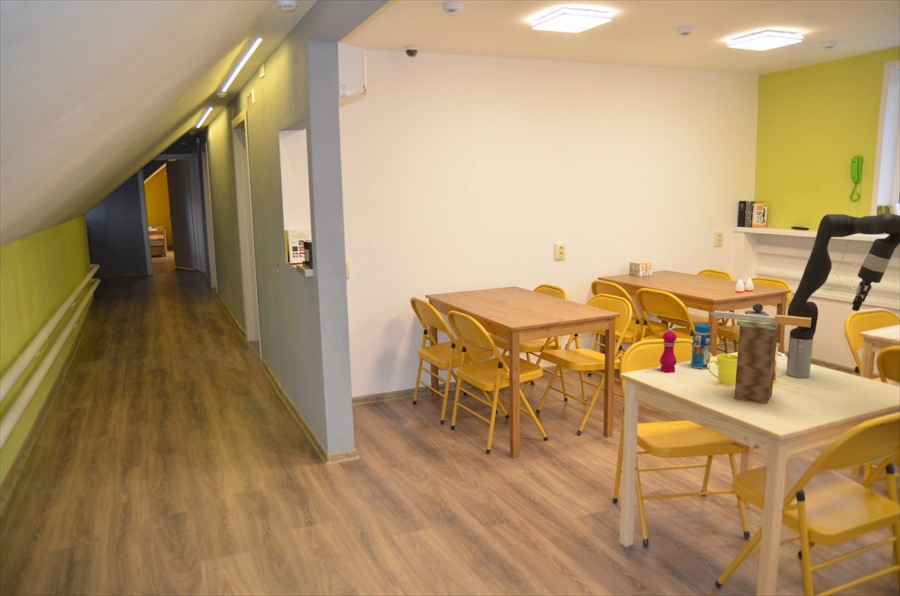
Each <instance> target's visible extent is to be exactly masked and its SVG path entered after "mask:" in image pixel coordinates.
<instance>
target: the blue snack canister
mask: <svg viewBox="0 0 900 596" xmlns="http://www.w3.org/2000/svg"><path fill="white" fill-rule="evenodd" d="M711 328H712V327H711V325H710V324H709V323H708V324H707V323H696V324H695V325H694V332H695V333H694V334H693V336H692V342H691V360H690V366H691V367H692V368H693V367H695V368H694V369H697V368H701V369H700V370H707V364H708V363H710V362H711V361H710V360H711V348H712V338H711V336H710V333H711Z"/></svg>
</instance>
